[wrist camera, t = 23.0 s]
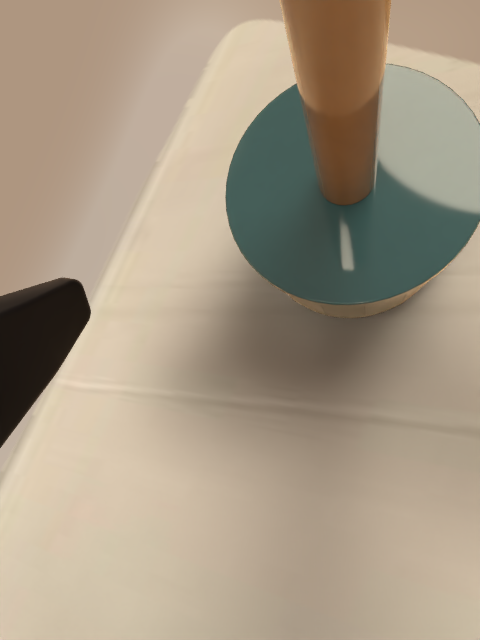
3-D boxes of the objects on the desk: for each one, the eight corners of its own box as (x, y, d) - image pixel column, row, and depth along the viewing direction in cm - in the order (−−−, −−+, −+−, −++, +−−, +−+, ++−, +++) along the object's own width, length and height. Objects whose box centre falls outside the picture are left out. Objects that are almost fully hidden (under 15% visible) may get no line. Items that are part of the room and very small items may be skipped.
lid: (355, 362, 16) (350, 327, 6) (191, 213, 19) (-3, 19, 9) (544, 166, 15) (932, -284, 5) (339, 44, 18) (314, -388, 8)
